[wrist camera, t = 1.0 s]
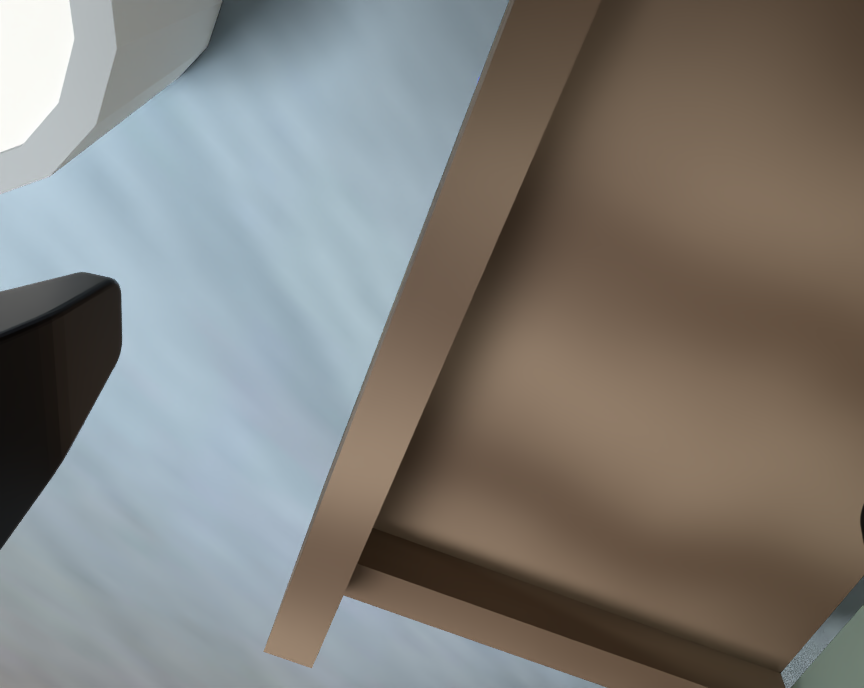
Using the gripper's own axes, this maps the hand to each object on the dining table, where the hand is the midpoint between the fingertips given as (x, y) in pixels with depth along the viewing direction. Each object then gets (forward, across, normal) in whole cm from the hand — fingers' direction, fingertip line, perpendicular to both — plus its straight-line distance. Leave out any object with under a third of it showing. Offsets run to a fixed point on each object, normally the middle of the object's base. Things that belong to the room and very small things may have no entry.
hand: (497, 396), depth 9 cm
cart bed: (+12, -5, +3) cm, 13 cm away
